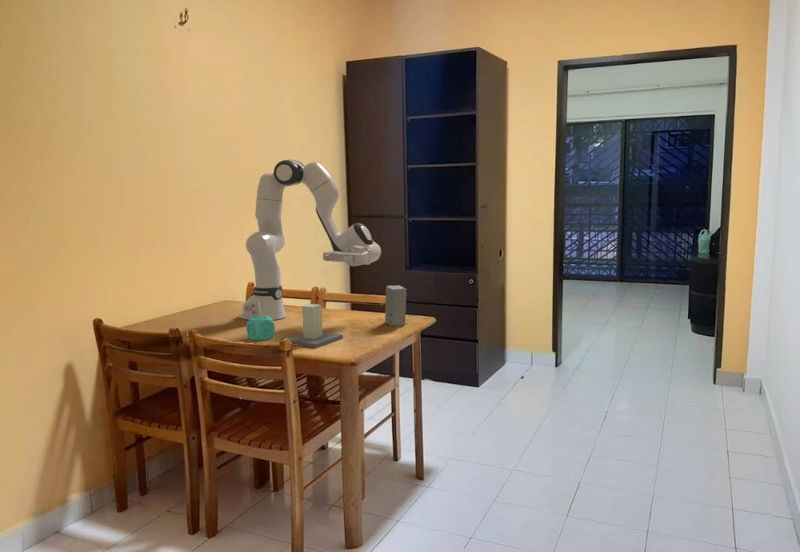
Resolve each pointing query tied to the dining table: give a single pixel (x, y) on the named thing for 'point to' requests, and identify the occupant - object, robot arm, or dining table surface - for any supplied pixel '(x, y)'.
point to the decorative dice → (260, 328)
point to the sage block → (312, 321)
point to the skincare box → (395, 305)
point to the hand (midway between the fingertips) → (333, 259)
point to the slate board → (316, 342)
